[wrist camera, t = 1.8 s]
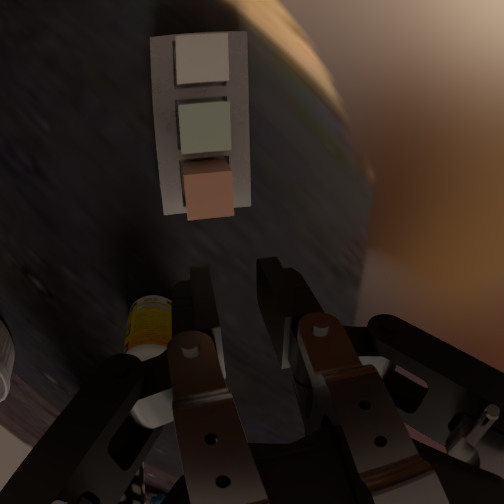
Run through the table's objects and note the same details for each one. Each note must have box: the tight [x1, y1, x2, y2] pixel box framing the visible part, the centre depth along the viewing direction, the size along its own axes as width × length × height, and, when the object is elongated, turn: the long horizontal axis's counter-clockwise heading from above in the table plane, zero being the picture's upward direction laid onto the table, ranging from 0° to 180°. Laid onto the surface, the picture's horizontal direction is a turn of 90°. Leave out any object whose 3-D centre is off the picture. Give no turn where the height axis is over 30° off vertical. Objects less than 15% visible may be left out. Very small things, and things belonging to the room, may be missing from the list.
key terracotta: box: [183, 159, 234, 221], centre depth 23 cm, size 3×3×4 cm
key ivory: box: [176, 33, 229, 85], centre depth 19 cm, size 3×3×4 cm
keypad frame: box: [150, 31, 251, 215], centre depth 23 cm, size 7×14×3 cm, turn 1°
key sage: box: [178, 100, 231, 154], centre depth 21 cm, size 3×3×4 cm
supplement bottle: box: [123, 295, 172, 361], centre depth 28 cm, size 6×6×10 cm
